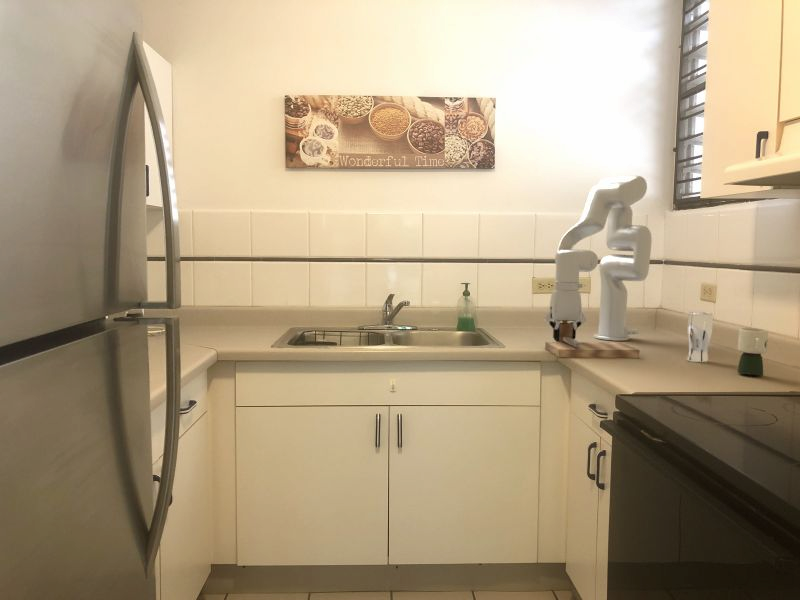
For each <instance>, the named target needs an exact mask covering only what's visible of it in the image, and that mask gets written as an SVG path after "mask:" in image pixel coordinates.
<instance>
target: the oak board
mask: <svg viewBox="0 0 800 600" xmlns="http://www.w3.org/2000/svg"><path fill="white" fill-rule="evenodd" d="M579 342H580V343H582V346H581V347H574V346H572V345H570V344H568V343H566V342H556V341H545V344H544V349H545V350H546V351H547V352H549V353H551V354H553V355H554V356H556V357H558V358H605V359H606V358H608V359H609V358H610V359H611V358H612V359H613V358H615V359H617V358H624V359H625V358H627V359H628V358H629V359H639V358H640V349H638V348H636V347H633V346H630V345H628V344H625V343H623V342H619V341H618V342H617V341H616V342H615V341H614V342H613V341H609V342H607V341H606V342H604V341H603V342H602V341H599V342H598V341H590V342H589V341H579Z"/></svg>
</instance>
